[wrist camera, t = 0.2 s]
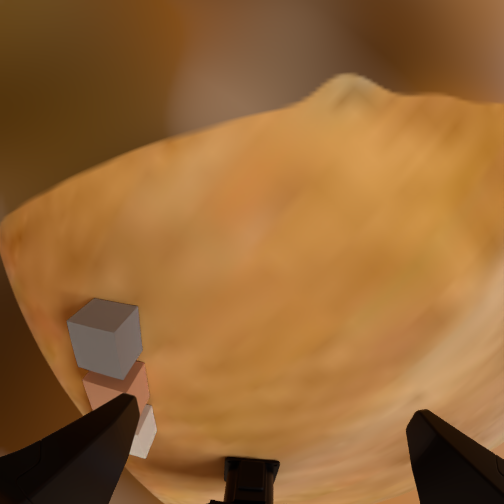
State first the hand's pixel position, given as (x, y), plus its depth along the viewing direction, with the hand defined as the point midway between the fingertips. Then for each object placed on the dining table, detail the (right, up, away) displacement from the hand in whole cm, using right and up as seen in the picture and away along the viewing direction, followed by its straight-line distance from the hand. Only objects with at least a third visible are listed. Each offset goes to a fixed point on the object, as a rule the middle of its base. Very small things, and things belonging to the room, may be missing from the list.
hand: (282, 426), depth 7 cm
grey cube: (-13, -1, +16) cm, 20 cm away
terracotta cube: (-13, -7, +17) cm, 23 cm away
